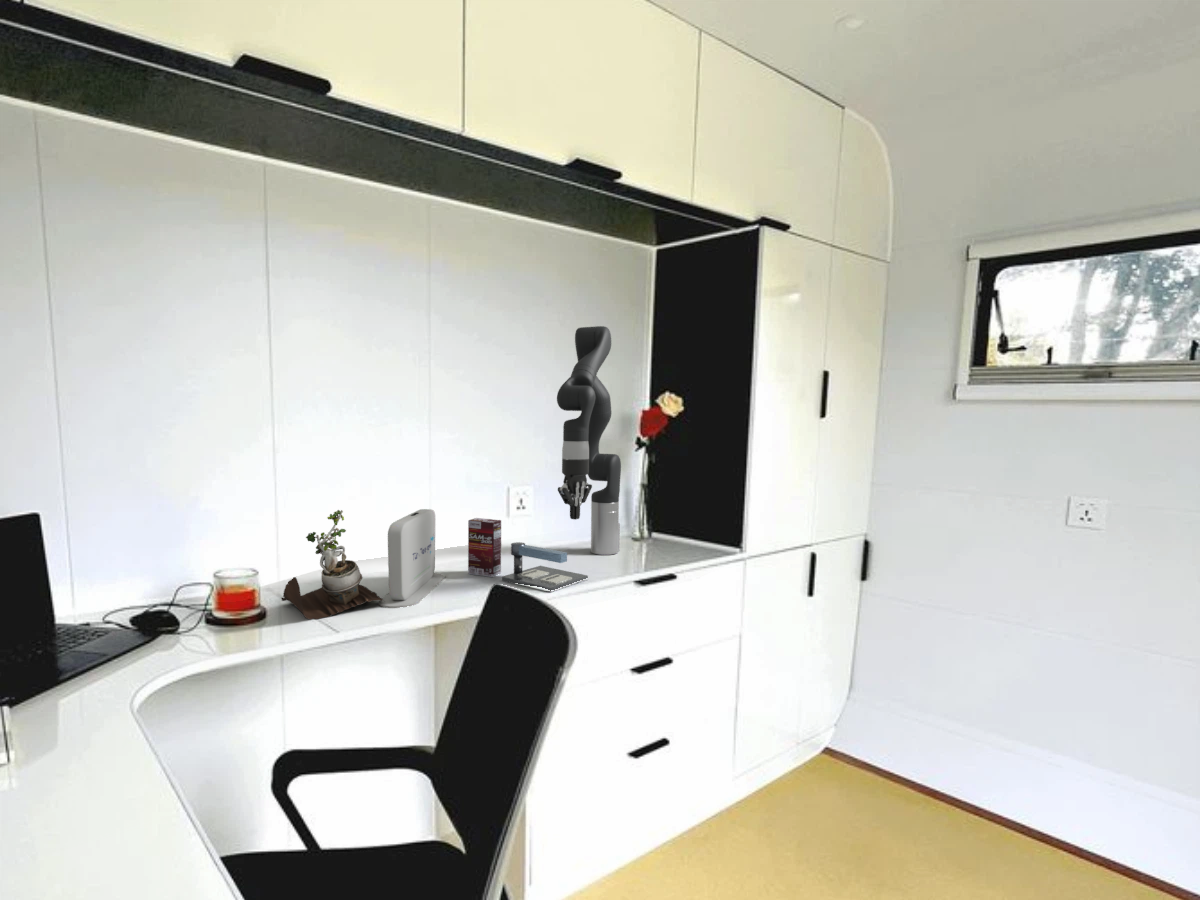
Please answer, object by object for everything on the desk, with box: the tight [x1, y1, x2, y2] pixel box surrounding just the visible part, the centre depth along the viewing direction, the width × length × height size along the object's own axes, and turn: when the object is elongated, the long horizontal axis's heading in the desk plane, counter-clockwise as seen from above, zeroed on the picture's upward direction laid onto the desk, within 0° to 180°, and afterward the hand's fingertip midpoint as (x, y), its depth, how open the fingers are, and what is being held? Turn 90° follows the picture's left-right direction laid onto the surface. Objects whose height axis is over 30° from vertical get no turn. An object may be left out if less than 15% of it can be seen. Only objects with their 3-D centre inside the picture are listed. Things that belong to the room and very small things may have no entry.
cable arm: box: [510, 541, 568, 564], centre depth 176 cm, size 19×4×3 cm, turn 53°
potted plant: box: [281, 509, 384, 620], centre depth 150 cm, size 20×19×25 cm
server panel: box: [501, 555, 589, 591], centre depth 177 cm, size 16×19×6 cm
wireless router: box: [377, 508, 446, 609], centre depth 166 cm, size 31×10×20 cm, turn 178°
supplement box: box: [467, 517, 502, 578], centre depth 183 cm, size 9×5×16 cm, turn 68°
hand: (574, 518), depth 177 cm, fingers closed
